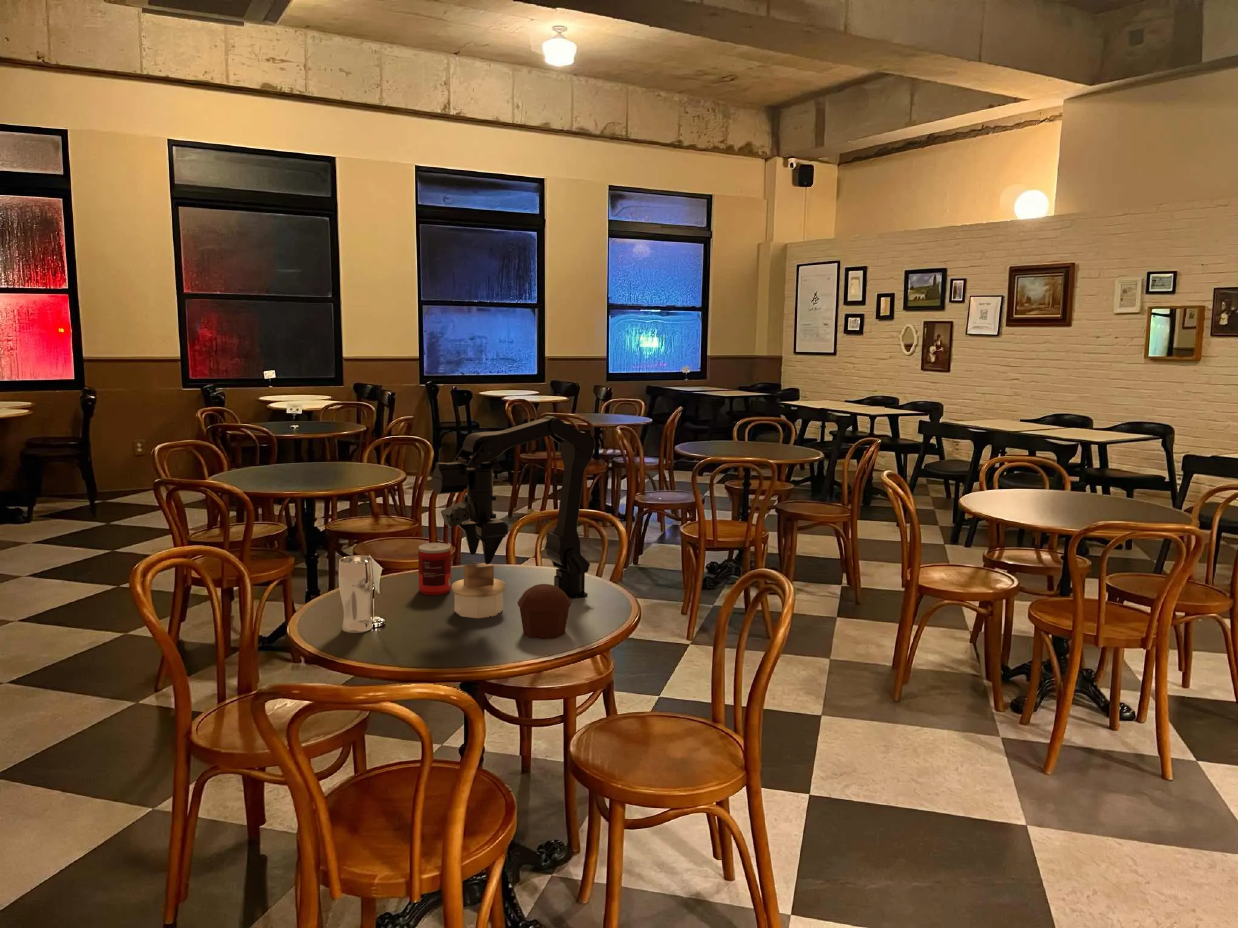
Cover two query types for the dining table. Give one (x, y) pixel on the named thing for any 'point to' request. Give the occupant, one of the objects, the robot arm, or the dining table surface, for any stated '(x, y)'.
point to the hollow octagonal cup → (478, 606)
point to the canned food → (434, 568)
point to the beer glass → (356, 592)
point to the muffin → (544, 611)
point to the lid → (478, 582)
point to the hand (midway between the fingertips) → (480, 559)
